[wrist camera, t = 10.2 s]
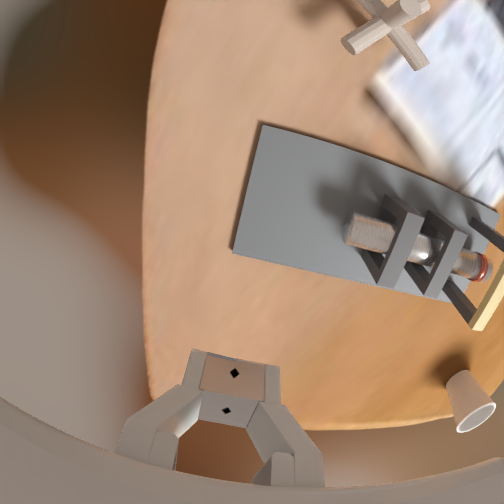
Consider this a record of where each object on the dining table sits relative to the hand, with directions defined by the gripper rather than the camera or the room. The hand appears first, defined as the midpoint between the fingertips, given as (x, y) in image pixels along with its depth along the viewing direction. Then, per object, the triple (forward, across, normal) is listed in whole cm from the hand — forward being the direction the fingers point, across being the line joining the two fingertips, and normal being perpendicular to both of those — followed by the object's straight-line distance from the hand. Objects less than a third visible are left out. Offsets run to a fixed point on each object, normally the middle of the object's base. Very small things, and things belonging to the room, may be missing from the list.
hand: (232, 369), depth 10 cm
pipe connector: (+24, -7, -19) cm, 31 cm away
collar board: (+23, -15, +1) cm, 28 cm away
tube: (+21, -19, +1) cm, 29 cm away
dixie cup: (+23, -45, +24) cm, 56 cm away
